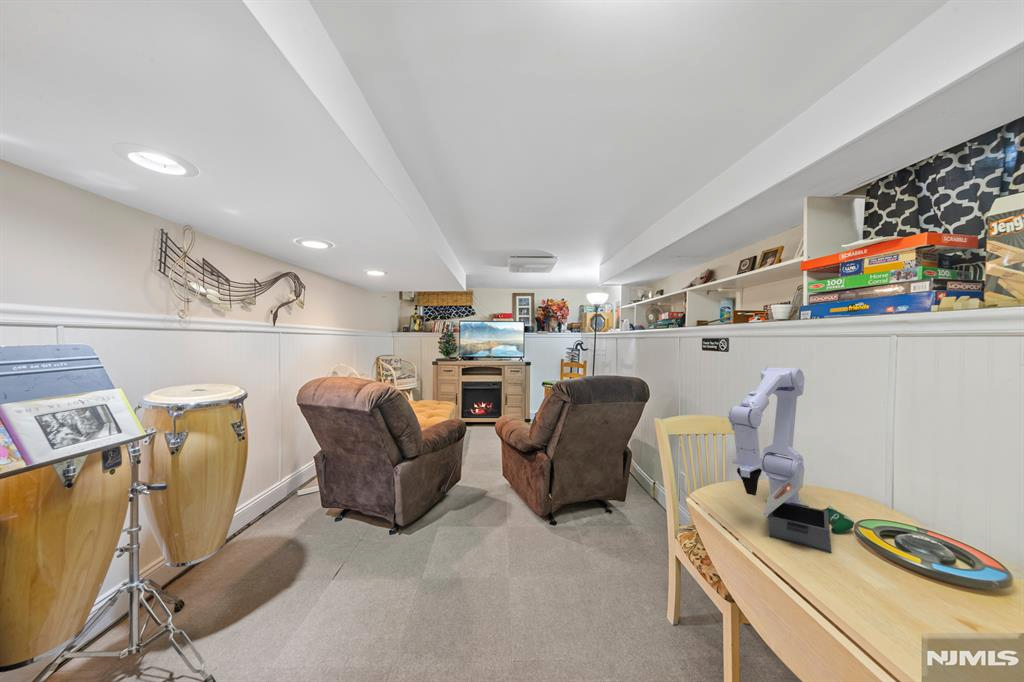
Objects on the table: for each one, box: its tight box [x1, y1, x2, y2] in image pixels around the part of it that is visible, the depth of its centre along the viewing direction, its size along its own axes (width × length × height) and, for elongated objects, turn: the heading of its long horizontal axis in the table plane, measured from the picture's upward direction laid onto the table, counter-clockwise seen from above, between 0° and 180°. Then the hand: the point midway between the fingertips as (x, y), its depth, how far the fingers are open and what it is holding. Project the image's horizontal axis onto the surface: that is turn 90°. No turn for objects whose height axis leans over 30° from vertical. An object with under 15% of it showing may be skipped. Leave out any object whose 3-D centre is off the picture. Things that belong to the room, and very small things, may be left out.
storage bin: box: [767, 502, 832, 554], centre depth 89 cm, size 16×12×6 cm
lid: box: [763, 470, 805, 517], centre depth 91 cm, size 13×13×1 cm
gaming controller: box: [822, 505, 855, 535], centre depth 92 cm, size 9×4×6 cm
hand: (751, 493), depth 96 cm, fingers closed
